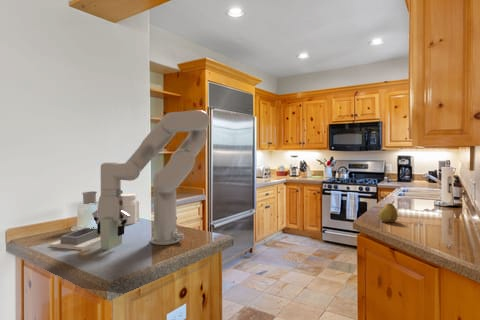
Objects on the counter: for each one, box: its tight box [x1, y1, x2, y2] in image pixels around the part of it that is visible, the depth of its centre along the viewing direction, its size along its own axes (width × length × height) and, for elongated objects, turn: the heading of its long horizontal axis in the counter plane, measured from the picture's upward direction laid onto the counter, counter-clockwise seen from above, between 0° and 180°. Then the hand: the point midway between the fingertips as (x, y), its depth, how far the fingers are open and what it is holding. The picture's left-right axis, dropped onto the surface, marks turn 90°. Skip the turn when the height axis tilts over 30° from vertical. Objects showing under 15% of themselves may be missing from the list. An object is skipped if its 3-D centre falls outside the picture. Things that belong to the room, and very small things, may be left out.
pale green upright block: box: [100, 218, 123, 251], centre depth 120 cm, size 4×8×12 cm, turn 166°
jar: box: [121, 193, 140, 226], centre depth 160 cm, size 12×10×15 cm
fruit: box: [378, 200, 399, 224], centre depth 161 cm, size 9×9×12 cm
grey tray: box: [49, 227, 101, 251], centre depth 125 cm, size 16×16×4 cm
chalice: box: [81, 191, 98, 205], centre depth 149 cm, size 7×7×18 cm
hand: (110, 233), depth 120 cm, fingers open, 9 cm apart
